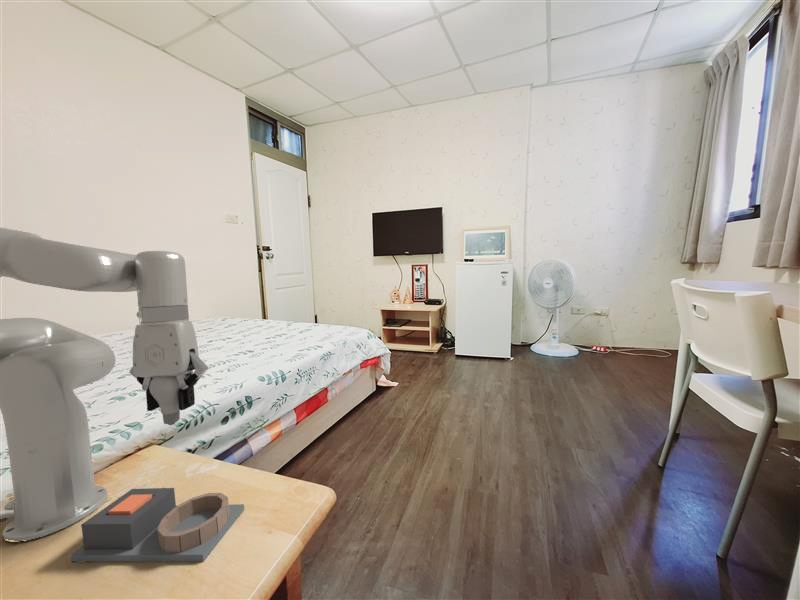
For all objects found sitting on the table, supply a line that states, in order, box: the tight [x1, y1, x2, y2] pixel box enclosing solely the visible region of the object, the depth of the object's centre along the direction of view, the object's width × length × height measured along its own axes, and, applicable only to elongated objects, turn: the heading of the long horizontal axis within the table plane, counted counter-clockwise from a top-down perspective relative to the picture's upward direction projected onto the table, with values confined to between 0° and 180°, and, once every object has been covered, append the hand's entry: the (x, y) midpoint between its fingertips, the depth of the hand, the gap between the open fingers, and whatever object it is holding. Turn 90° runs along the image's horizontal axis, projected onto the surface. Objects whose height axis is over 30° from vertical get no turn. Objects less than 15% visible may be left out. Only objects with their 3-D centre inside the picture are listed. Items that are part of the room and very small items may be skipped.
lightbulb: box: [149, 375, 187, 426], centre depth 58 cm, size 6×6×11 cm
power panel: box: [70, 487, 245, 563], centre depth 48 cm, size 21×10×5 cm, turn 87°
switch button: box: [108, 494, 152, 515], centre depth 49 cm, size 4×4×4 cm
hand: (171, 406), depth 58 cm, fingers closed on lightbulb, 5 cm apart
